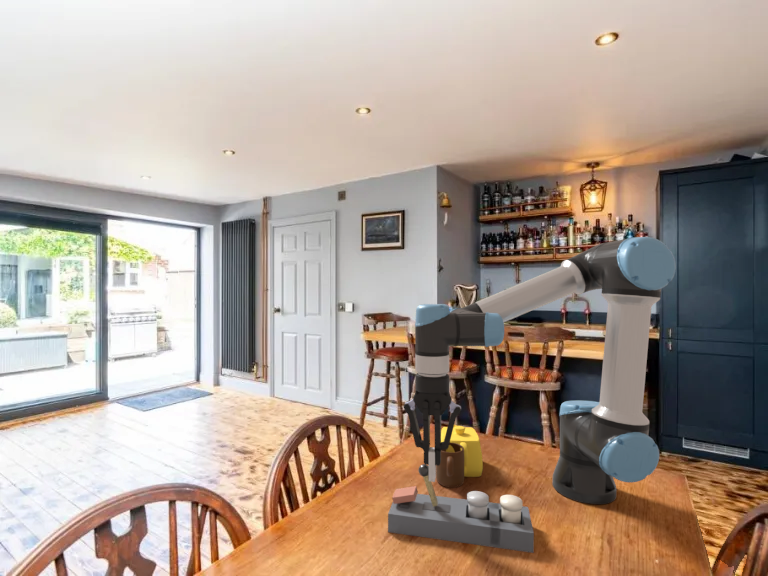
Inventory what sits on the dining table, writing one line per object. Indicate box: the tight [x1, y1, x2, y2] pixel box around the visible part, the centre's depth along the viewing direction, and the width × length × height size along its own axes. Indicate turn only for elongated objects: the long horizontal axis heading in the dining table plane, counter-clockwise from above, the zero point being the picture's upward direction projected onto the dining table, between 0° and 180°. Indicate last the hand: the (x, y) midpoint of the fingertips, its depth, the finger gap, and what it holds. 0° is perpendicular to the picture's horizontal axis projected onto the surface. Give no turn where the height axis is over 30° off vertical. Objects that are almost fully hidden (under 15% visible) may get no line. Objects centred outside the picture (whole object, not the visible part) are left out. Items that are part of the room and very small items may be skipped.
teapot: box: [441, 424, 484, 478], centre depth 123 cm, size 20×12×12 cm, turn 178°
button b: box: [466, 490, 490, 520], centre depth 90 cm, size 5×5×5 cm
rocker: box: [392, 485, 419, 504], centre depth 94 cm, size 5×4×1 cm
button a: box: [499, 494, 524, 524], centre depth 89 cm, size 5×5×5 cm
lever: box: [417, 463, 438, 507], centre depth 93 cm, size 3×3×9 cm
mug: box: [435, 443, 465, 488], centre depth 111 cm, size 12×8×9 cm, turn 170°
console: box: [387, 493, 535, 554], centre depth 91 cm, size 30×10×5 cm, turn 77°
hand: (432, 478), depth 92 cm, fingers closed
